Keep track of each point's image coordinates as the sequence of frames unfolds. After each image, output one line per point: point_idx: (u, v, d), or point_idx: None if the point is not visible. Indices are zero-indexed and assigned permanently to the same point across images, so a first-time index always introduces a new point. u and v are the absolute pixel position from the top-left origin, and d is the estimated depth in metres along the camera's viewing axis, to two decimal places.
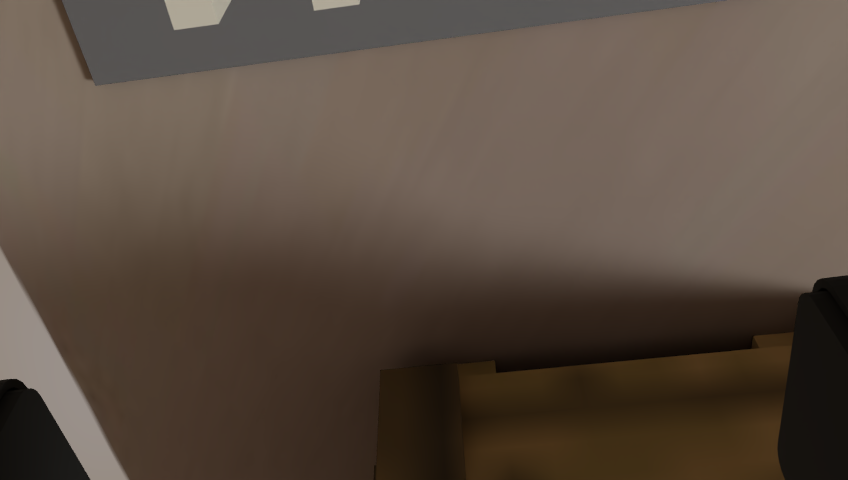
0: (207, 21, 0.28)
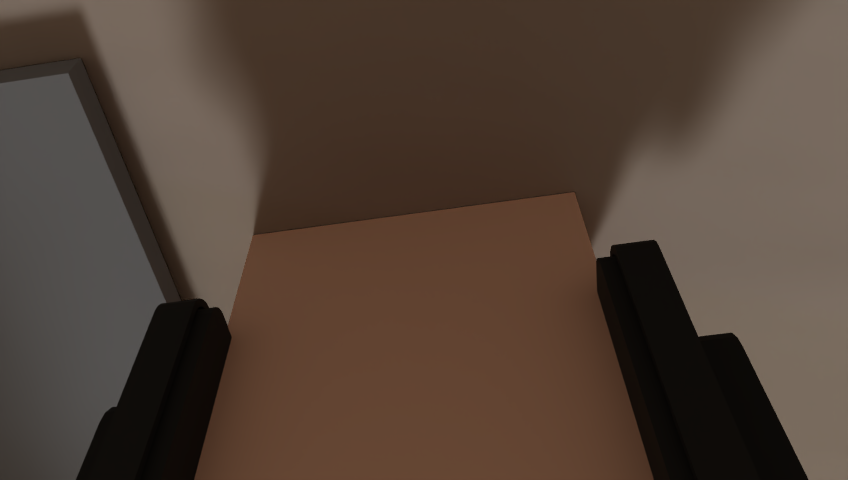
0: None
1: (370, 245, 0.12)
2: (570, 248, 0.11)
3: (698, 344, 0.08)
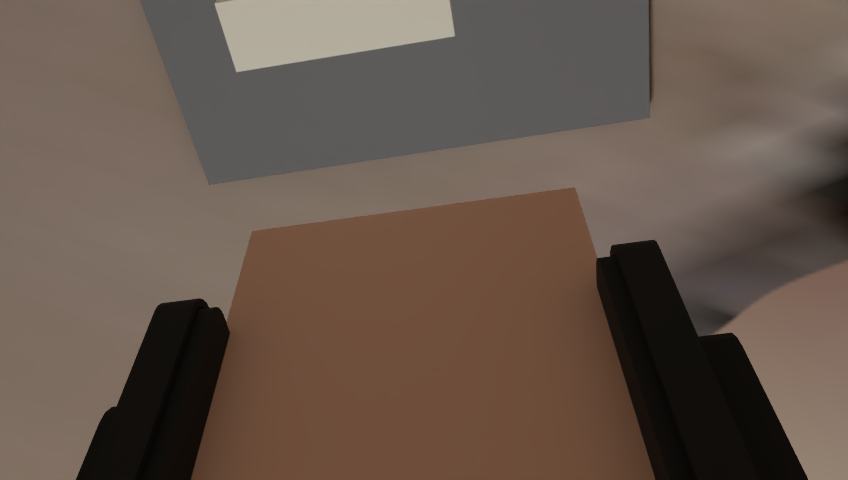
0: None
1: (369, 241, 0.12)
2: (571, 243, 0.11)
3: (697, 344, 0.08)
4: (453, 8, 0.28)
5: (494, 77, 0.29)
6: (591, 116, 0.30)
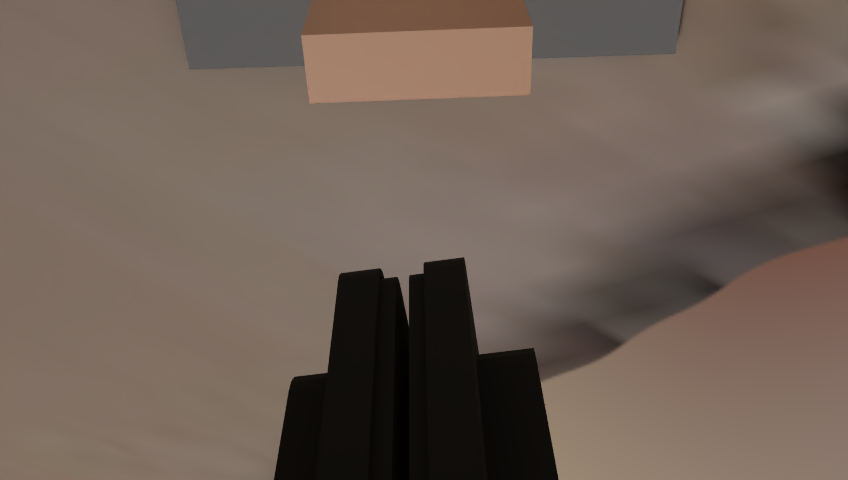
0: None
1: None
2: None
3: (469, 361, 0.08)
4: None
5: None
6: (615, 44, 0.28)
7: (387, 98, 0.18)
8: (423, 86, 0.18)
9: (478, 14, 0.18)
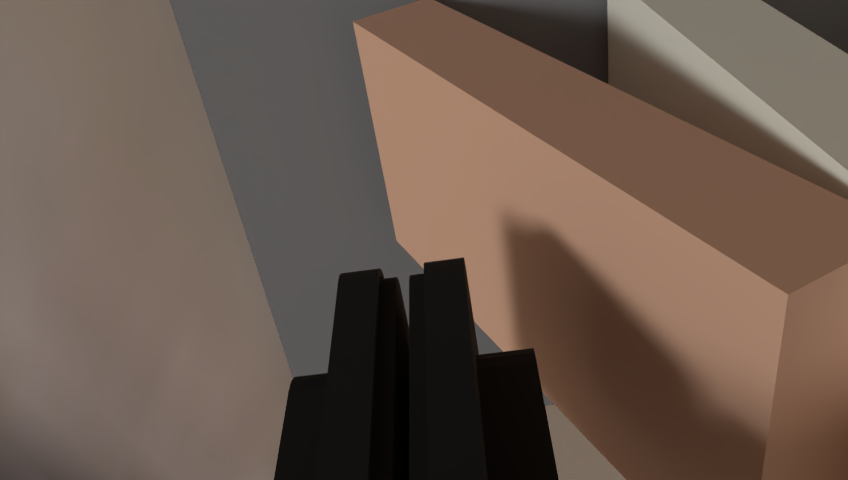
0: None
1: None
2: None
3: (469, 362, 0.08)
4: None
5: (366, 260, 0.19)
6: (308, 373, 0.21)
7: (773, 425, 0.08)
8: (782, 465, 0.09)
9: None
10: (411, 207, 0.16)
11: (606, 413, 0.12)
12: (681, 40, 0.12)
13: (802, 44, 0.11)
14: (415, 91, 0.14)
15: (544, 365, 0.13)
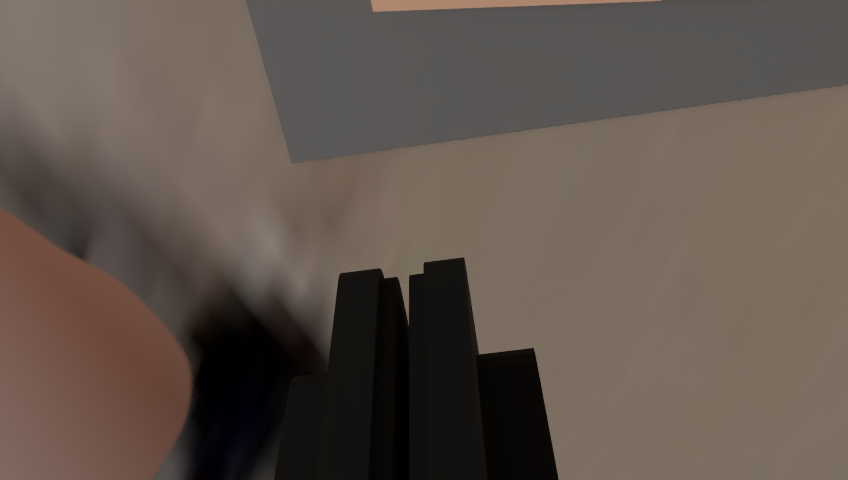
0: None
1: None
2: None
3: (469, 362, 0.08)
4: None
5: (322, 31, 0.31)
6: (289, 116, 0.33)
7: None
8: None
9: None
10: None
11: None
12: None
13: None
14: None
15: None
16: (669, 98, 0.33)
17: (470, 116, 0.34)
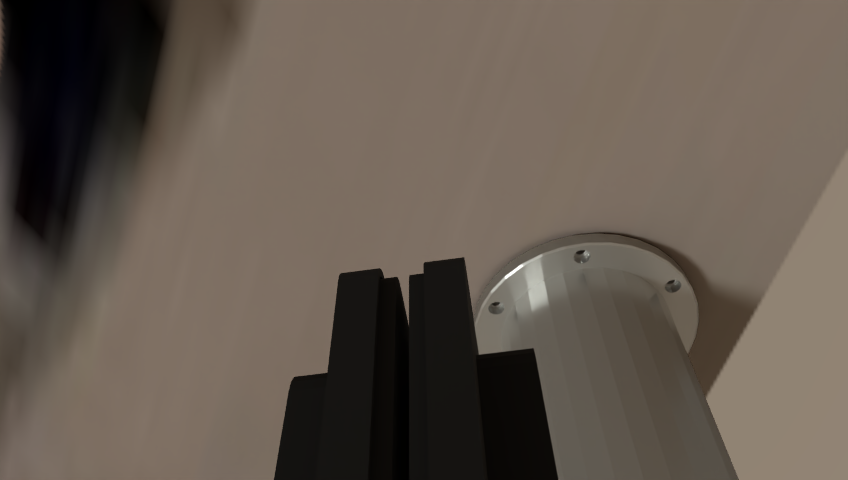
0: None
1: None
2: None
3: (469, 362, 0.08)
4: None
5: None
6: None
7: None
8: None
9: None
10: None
11: None
12: None
13: None
14: None
15: None
16: None
17: None
